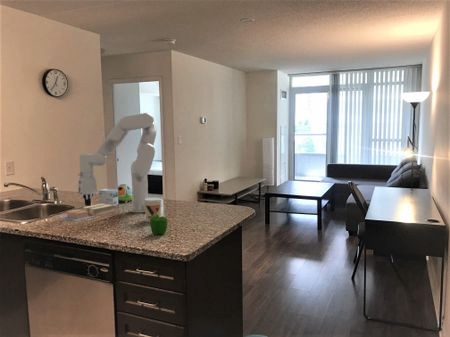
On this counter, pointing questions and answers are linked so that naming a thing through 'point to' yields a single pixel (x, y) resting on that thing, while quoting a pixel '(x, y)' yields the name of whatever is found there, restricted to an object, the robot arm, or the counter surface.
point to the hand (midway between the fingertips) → (87, 205)
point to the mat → (75, 218)
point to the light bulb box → (108, 196)
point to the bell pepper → (158, 224)
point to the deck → (99, 209)
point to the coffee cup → (152, 207)
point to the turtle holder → (124, 192)
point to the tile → (77, 214)
